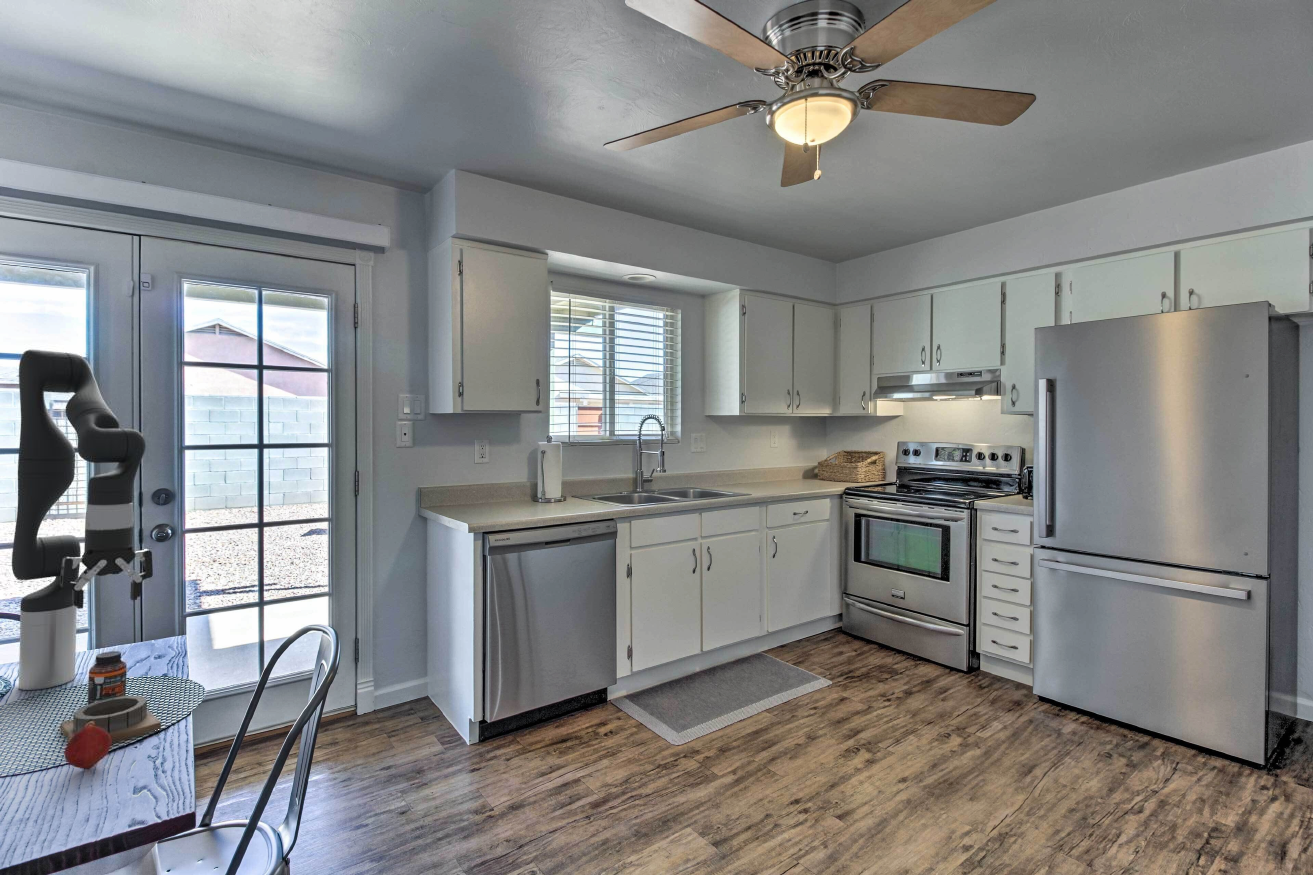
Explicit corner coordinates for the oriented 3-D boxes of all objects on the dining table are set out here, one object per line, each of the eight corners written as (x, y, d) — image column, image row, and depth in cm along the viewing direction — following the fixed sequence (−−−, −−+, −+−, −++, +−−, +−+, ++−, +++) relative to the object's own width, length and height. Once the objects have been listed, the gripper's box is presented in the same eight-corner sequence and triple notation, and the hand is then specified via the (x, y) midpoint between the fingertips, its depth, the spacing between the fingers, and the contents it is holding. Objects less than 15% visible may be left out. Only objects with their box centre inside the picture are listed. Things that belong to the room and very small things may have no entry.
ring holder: (60, 730, 120) (60, 706, 120) (139, 709, 129) (140, 688, 129) (77, 753, 111) (77, 728, 111) (160, 729, 121) (161, 706, 121)
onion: (71, 781, 102) (72, 733, 102) (59, 771, 105) (60, 723, 105) (116, 766, 107) (117, 719, 107) (103, 756, 110) (104, 711, 110)
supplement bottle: (102, 715, 126) (104, 659, 126) (79, 712, 127) (80, 657, 127) (133, 703, 132) (134, 650, 132) (110, 700, 133) (111, 647, 133)
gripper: (147, 520, 137) (145, 594, 137) (58, 526, 125) (56, 606, 126) (158, 524, 132) (155, 600, 132) (66, 531, 121) (63, 614, 121)
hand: (107, 603), depth 129 cm, fingers open, 8 cm apart
